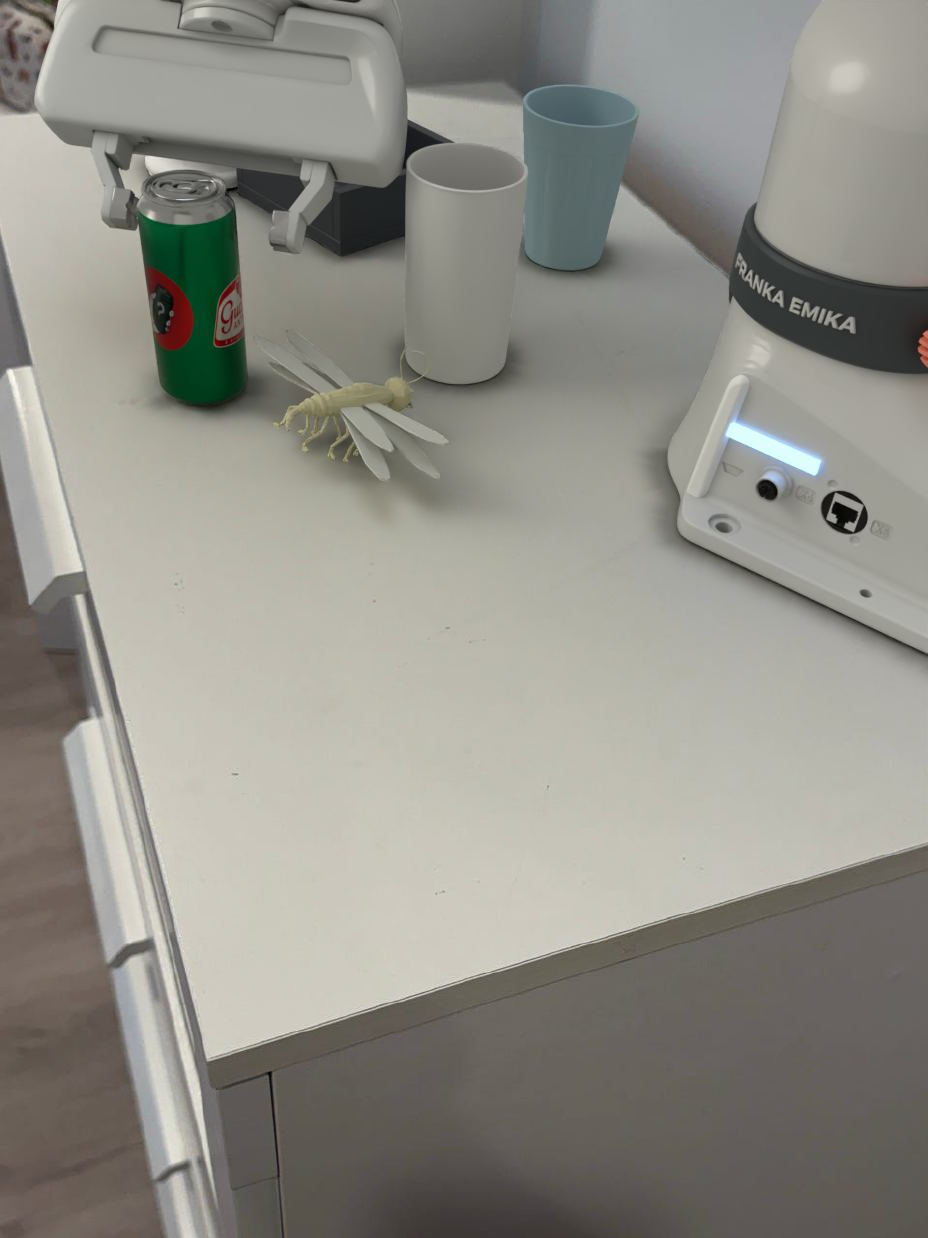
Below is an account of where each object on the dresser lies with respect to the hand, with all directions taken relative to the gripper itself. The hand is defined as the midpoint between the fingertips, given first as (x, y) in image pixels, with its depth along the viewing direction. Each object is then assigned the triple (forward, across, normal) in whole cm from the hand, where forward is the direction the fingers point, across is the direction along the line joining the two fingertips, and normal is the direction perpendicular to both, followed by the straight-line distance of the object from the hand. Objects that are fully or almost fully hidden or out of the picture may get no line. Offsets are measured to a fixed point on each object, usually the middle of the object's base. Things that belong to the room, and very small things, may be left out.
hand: (200, 237), depth 64 cm
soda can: (+7, 0, +5) cm, 9 cm away
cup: (-10, +18, +22) cm, 30 cm away
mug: (+1, +13, +11) cm, 17 cm away
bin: (-12, +2, +24) cm, 27 cm away
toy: (+10, +10, +2) cm, 14 cm away
